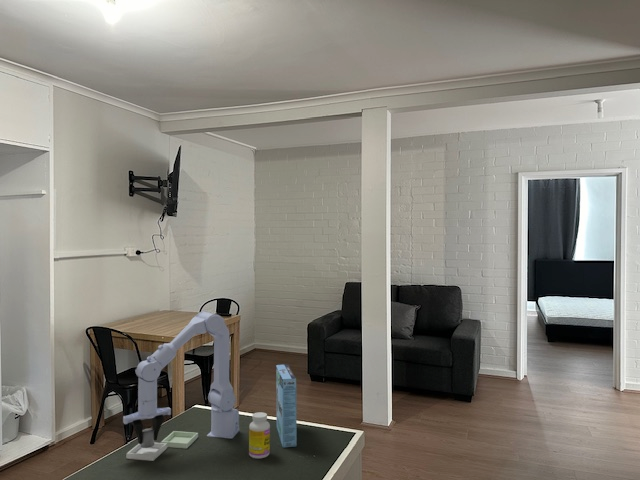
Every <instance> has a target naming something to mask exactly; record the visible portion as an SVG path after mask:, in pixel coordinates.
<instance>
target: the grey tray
mask: <svg viewBox="0 0 640 480" xmlns="http://www.w3.org/2000/svg"><path fill="white" fill-rule="evenodd" d="M167 449H168V447H167V443H161V442H156V441H154V445H153V446H152V447H149V448H142V447H141V444H139V443H137V444H136V445H135V446H134V447H132V449H130V450H129V451H127V452H126V453H125V454H126V459H129V460H140V461H153V462H154V461H155V460H156V459H157V458H158V457H159V456H160V455H161V454H163V453H164V452H165V451H166V450H167Z"/></svg>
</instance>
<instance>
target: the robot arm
mask: <svg viewBox="0 0 640 480" xmlns="http://www.w3.org/2000/svg"><path fill="white" fill-rule="evenodd" d="M207 333H208V334H209V335H210V336H212V337H213V382H212V383H211V384H210V388H209V389H210V390H209V393H208V396H207V399H208V402H209V403H210V404H211V409H210V412H211V415H210V416H211V417H210V420H211V421H210V422H211V423H210V425H211V429H210V432H209V433H208V434H206V437H208V438H210V437H211V438H224V439H234V438H235V436H236V435H237V434H238V433H239V432H240V411H239V409H236V408H234V406H235V404H236V399H237V398H236V396H235V394H234V388H233V386H232V383H231V382H230V330H229V328H228V326H227V324H226V321H225V318H223V317H222V316H221V315H220V314H217V313H211V312H208V311H206V310H205V311H203V310H202V311H200V312H198V313H197V314H196V315H195V316H193V317H192V318H191V319H190V322H189V323H188V324H187V325H185V327H184V328H183V329H182V330H181V331H180V332H179V333H178V334H177V335H176V336H175V337H174V338H173V339H172V340H171V341H170V342H168V343H167V342H164V343H163V344H159V345H158V346H157V348H158V349H157V350H155V351H154V352H153V353H152V354H151V355H149V356H147V357H146V360H142V361H140V362H139V363H138V365H137V367H136V368H135V370H134V371H135V374H136V377H138V383H137V384H138V385H137V389H138V390H137V397H138V398H137V399H138V400H137V405H138V407H137V410H138V411H136V412H134V413H131V414H128V415H123V418H122V423H123V424H124V425H128V424H129V423H131V425H132V426H133V428H134V431H135V433H136V434H135V435H136V437H137V438H136V439H137V444H142V430H144V423H142V421H143V420H148V419H151V420H152V429H154V441H157V440H158V436H159V432H160V429H161V427H162V425H163V423H164V421H165V418H164V416H166V415H167V416H170V415H172V408H170V407H169V406H168V407H158V378H159V377H160V374H161V372H162V370H163V369H164V368H165V367H166V366H168V365H169V363H171V361H172V360H174V359H175V358H176V356H177V352H178V351H179V349H180V348H182V347H183V346H184V345H185V344H186V343H187V342H188V341H189V340H191V339H192V338H193V337H195V336H196V335H201V334H202V335H203V334H207Z"/></svg>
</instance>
